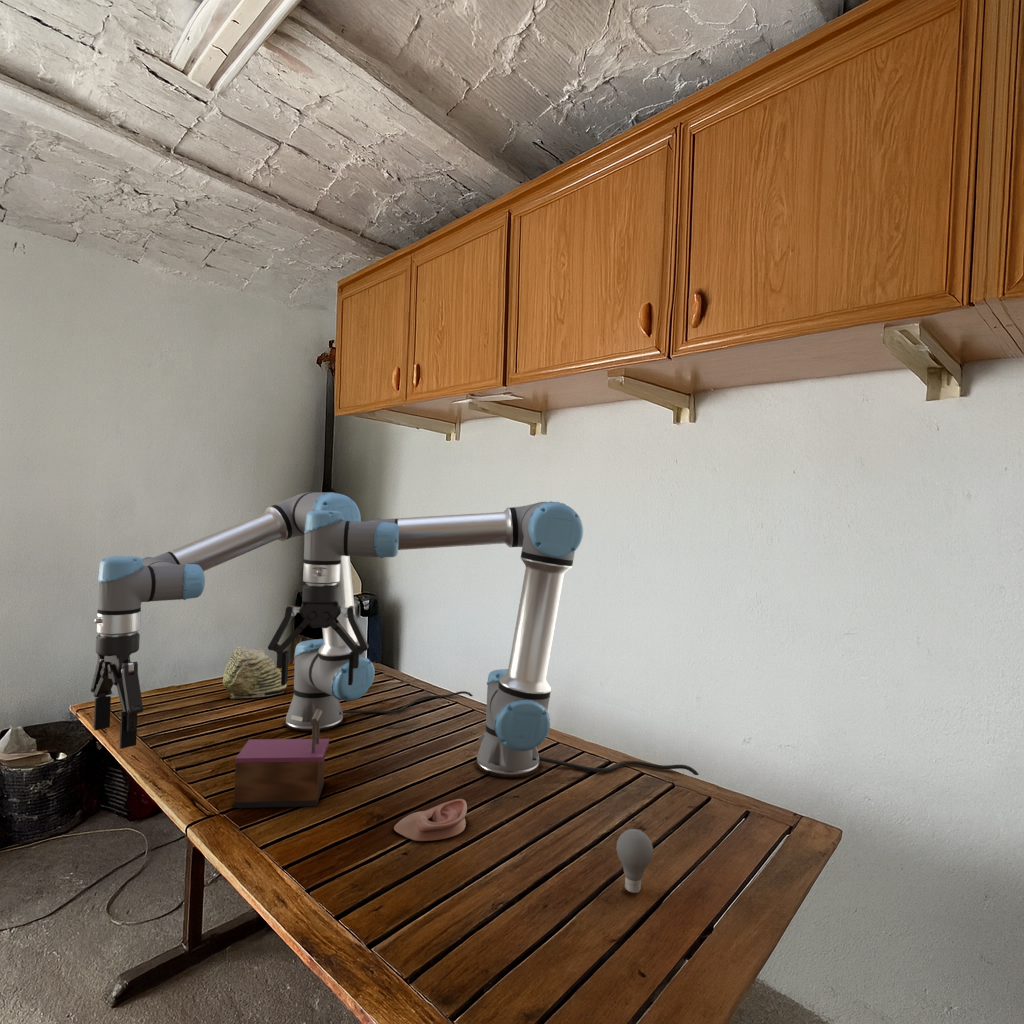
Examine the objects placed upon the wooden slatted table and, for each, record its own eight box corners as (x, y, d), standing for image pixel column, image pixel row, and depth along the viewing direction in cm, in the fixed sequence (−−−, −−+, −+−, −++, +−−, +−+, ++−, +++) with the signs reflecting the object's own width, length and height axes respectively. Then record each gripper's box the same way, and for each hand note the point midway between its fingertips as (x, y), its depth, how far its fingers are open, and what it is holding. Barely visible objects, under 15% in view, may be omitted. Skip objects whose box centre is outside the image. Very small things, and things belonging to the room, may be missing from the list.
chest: (323, 784, 140) (325, 743, 140) (316, 806, 130) (318, 762, 130) (247, 785, 137) (248, 744, 137) (233, 808, 127) (235, 763, 127)
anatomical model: (388, 815, 119) (410, 788, 130) (387, 836, 119) (409, 808, 130) (456, 826, 116) (472, 797, 127) (455, 847, 116) (471, 817, 128)
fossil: (218, 695, 195) (220, 647, 195) (278, 685, 208) (279, 640, 207) (228, 703, 189) (230, 653, 188) (289, 692, 201) (290, 645, 201)
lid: (329, 742, 140) (330, 705, 139) (322, 761, 130) (323, 721, 130) (248, 743, 137) (250, 705, 137) (235, 763, 127) (236, 722, 127)
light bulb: (610, 879, 108) (613, 822, 108) (644, 879, 109) (647, 822, 109) (619, 902, 102) (622, 840, 102) (655, 901, 103) (658, 840, 103)
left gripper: (75, 625, 133) (71, 725, 133) (122, 646, 117) (118, 760, 118) (115, 621, 139) (111, 717, 139) (164, 641, 123) (160, 749, 124)
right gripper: (255, 584, 128) (251, 688, 129) (380, 587, 132) (376, 688, 132) (264, 579, 136) (260, 678, 136) (382, 582, 139) (378, 678, 140)
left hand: (114, 737), depth 128 cm, fingers open, 13 cm apart
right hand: (317, 683), depth 134 cm, fingers open, 13 cm apart
